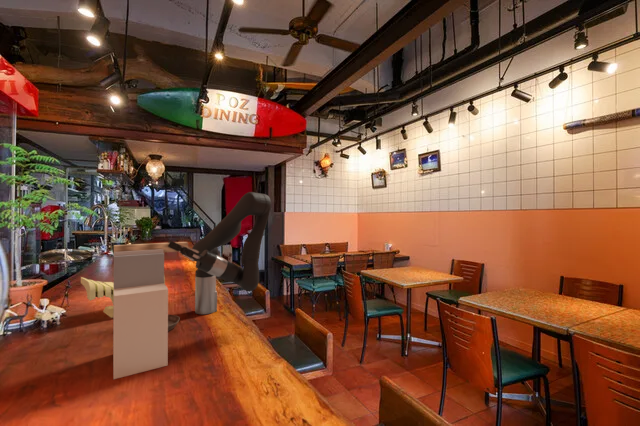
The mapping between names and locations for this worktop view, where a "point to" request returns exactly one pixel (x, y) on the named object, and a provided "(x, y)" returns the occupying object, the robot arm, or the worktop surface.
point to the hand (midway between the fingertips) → (168, 243)
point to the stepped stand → (139, 312)
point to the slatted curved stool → (100, 292)
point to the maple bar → (148, 247)
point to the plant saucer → (172, 321)
